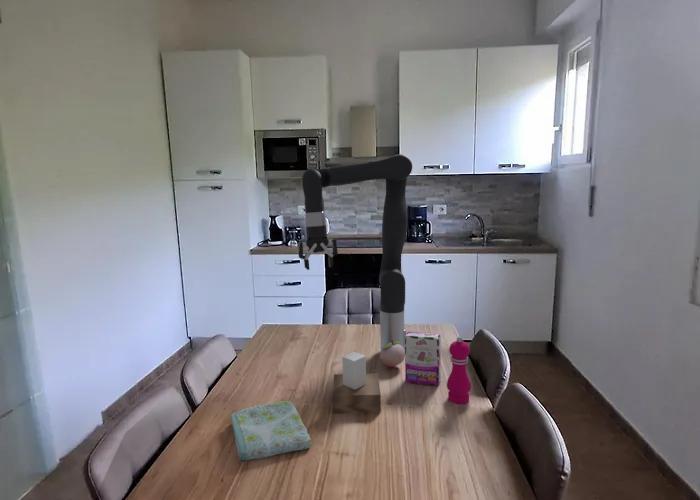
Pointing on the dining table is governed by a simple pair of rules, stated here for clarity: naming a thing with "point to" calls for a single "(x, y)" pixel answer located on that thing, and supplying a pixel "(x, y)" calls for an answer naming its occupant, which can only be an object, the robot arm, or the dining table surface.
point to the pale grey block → (354, 370)
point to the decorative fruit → (392, 354)
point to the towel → (269, 430)
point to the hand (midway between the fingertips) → (319, 268)
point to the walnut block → (356, 396)
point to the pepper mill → (459, 373)
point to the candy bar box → (422, 358)
